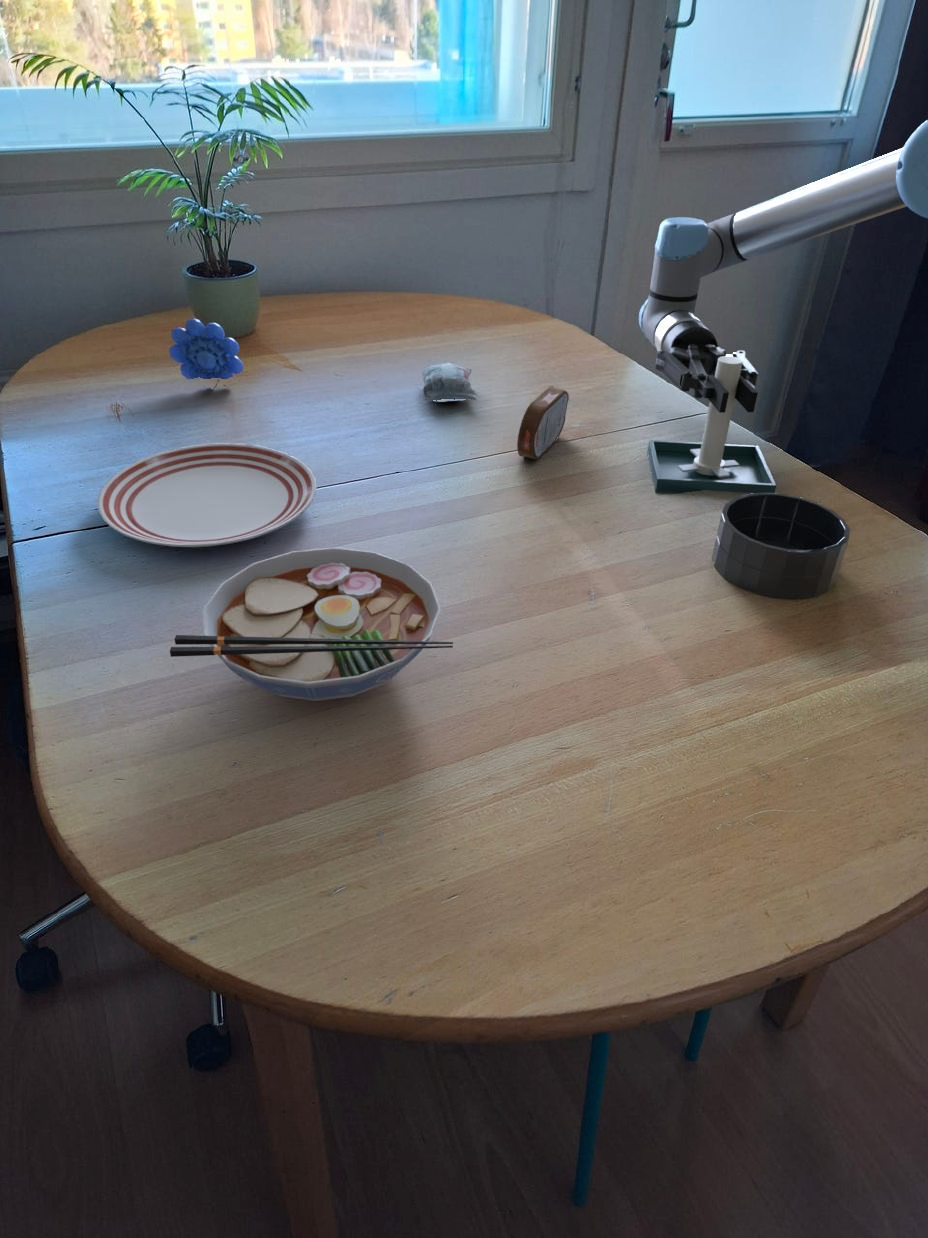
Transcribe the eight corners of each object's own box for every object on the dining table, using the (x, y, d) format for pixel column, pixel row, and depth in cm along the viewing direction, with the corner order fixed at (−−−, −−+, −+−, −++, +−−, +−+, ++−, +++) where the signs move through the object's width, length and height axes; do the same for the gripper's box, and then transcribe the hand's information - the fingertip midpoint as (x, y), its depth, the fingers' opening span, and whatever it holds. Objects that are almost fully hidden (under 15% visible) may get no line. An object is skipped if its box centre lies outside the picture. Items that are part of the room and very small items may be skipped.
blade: (720, 453, 131) (743, 346, 121) (752, 479, 123) (778, 368, 114) (665, 458, 128) (684, 350, 119) (694, 485, 121) (716, 373, 112)
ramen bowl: (450, 603, 98) (451, 540, 93) (452, 746, 79) (453, 676, 75) (226, 602, 97) (215, 539, 93) (175, 746, 79) (159, 675, 74)
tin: (549, 428, 139) (554, 377, 134) (568, 432, 138) (573, 380, 133) (513, 465, 128) (517, 410, 123) (533, 469, 127) (538, 414, 122)
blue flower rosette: (175, 400, 145) (161, 327, 138) (177, 385, 151) (164, 315, 144) (246, 396, 147) (237, 324, 140) (246, 381, 153) (237, 312, 146)
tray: (755, 458, 131) (758, 445, 130) (773, 499, 121) (776, 485, 119) (647, 452, 132) (649, 439, 131) (655, 492, 122) (657, 478, 120)
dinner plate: (351, 530, 111) (350, 506, 109) (132, 586, 99) (126, 562, 98) (274, 449, 130) (272, 428, 128) (82, 489, 119) (77, 467, 117)
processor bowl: (817, 545, 110) (831, 496, 106) (847, 609, 99) (865, 556, 95) (703, 538, 111) (714, 489, 107) (721, 601, 100) (733, 548, 96)
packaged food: (471, 384, 154) (471, 356, 151) (476, 410, 144) (477, 381, 142) (421, 385, 154) (421, 357, 151) (424, 411, 144) (423, 382, 141)
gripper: (732, 367, 136) (791, 428, 117) (630, 368, 135) (673, 430, 116) (742, 319, 132) (805, 374, 113) (637, 319, 131) (683, 375, 112)
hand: (738, 402), depth 115 cm, fingers closed on blade, 3 cm apart
